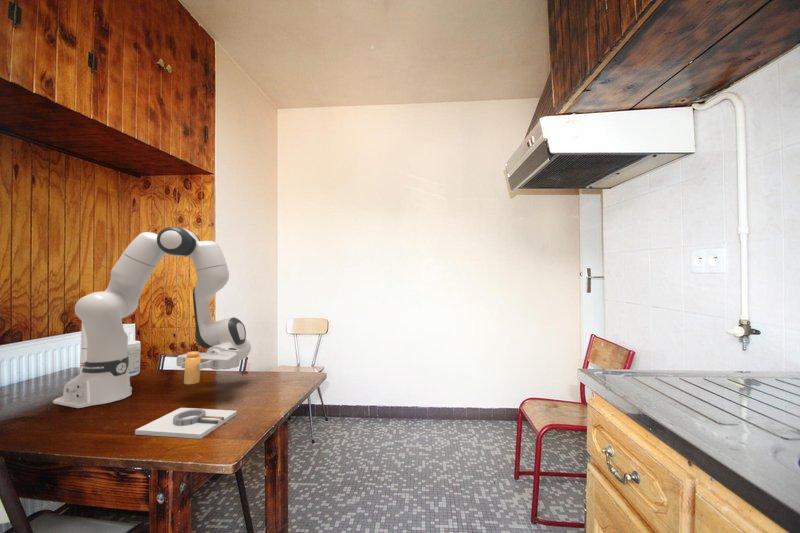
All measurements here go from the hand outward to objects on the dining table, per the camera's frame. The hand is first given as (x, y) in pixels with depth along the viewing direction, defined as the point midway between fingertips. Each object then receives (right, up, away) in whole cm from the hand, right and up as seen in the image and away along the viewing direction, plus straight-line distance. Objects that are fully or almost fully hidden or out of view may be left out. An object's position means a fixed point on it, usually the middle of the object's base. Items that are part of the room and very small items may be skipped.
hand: (190, 366), depth 109 cm
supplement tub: (-53, -16, +38) cm, 67 cm away
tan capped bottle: (0, -6, +1) cm, 6 cm away
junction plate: (+7, -14, -11) cm, 19 cm away
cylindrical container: (-69, -16, +38) cm, 80 cm away
